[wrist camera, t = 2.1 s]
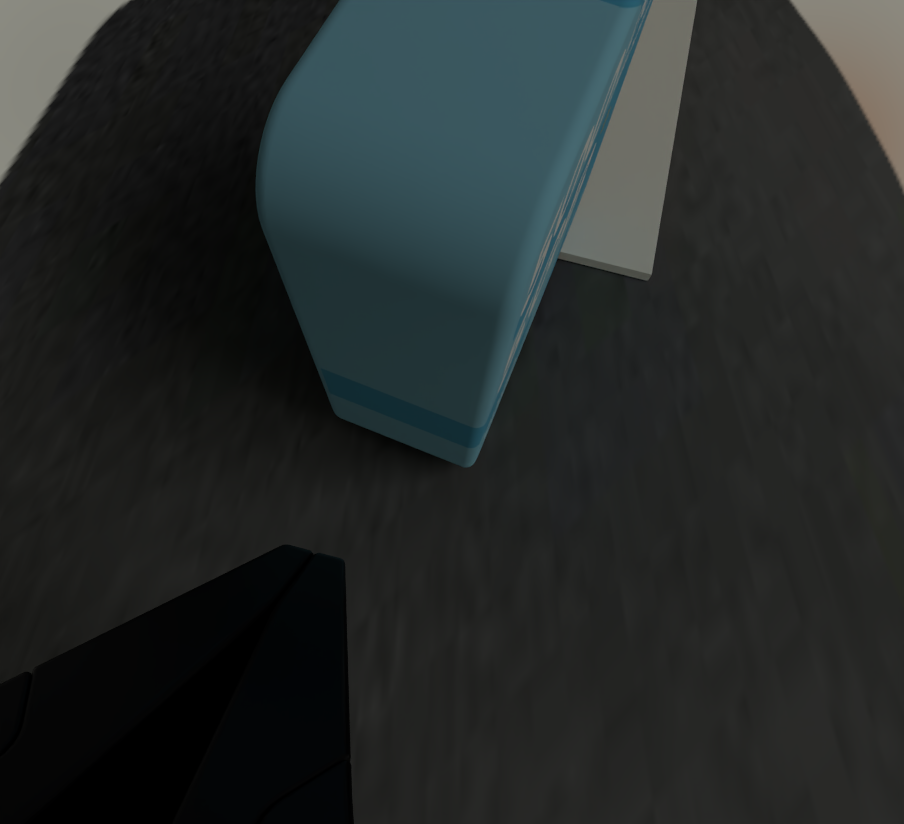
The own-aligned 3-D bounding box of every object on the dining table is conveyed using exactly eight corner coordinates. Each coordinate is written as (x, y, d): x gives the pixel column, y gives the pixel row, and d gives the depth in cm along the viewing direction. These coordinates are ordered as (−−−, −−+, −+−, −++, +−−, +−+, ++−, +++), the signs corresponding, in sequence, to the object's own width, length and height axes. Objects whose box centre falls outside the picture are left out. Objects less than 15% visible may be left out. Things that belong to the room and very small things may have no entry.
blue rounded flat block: (467, 482, 19) (529, 266, 8) (336, 429, 20) (223, 155, 9) (582, 195, 24) (729, -213, 12) (471, 156, 24) (515, -274, 13)
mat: (647, 280, 23) (651, 274, 22) (284, 189, 23) (282, 181, 23) (694, 4, 29) (697, -4, 29) (405, -62, 30) (405, -71, 29)
